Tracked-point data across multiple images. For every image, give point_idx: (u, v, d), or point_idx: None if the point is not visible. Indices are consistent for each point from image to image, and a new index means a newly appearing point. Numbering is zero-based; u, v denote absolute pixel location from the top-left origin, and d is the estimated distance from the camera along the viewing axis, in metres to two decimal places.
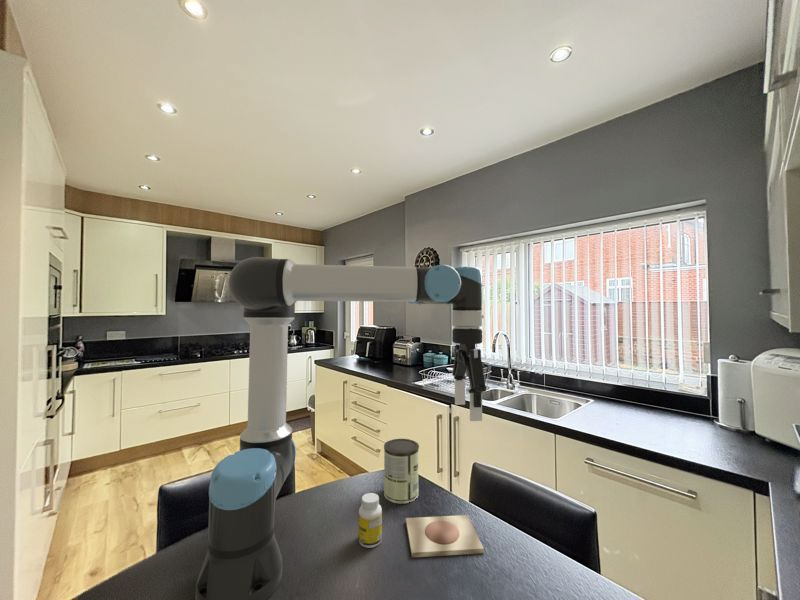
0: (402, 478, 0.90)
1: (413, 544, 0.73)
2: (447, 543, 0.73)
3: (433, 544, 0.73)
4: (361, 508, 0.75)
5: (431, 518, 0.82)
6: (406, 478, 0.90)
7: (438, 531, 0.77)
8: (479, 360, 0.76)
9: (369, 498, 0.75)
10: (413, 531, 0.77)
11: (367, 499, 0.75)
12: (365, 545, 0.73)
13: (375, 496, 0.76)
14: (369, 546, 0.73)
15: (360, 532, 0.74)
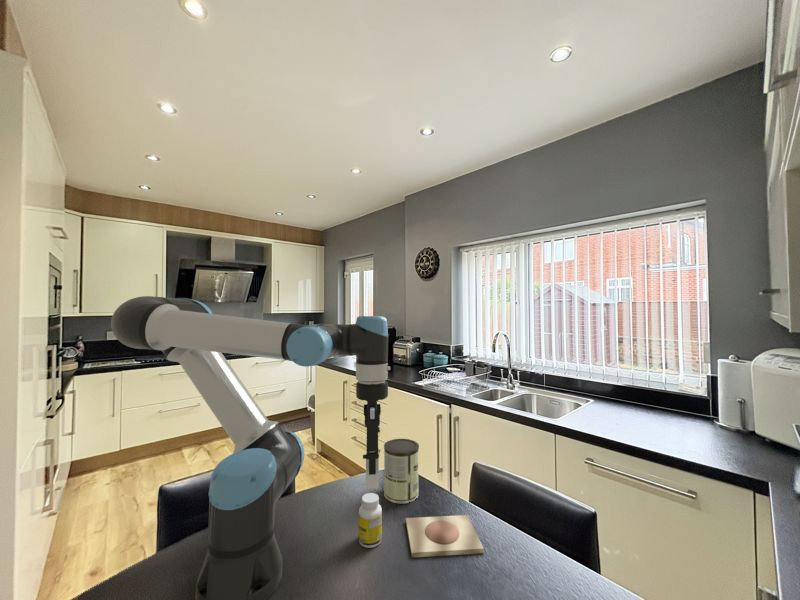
0: (402, 478, 0.90)
1: (413, 544, 0.73)
2: (447, 543, 0.73)
3: (433, 544, 0.73)
4: (361, 508, 0.75)
5: (431, 518, 0.82)
6: (406, 478, 0.90)
7: (438, 531, 0.77)
8: (375, 422, 0.69)
9: (369, 498, 0.75)
10: (413, 531, 0.77)
11: (367, 499, 0.75)
12: (365, 545, 0.73)
13: (375, 496, 0.76)
14: (369, 546, 0.73)
15: (360, 532, 0.74)
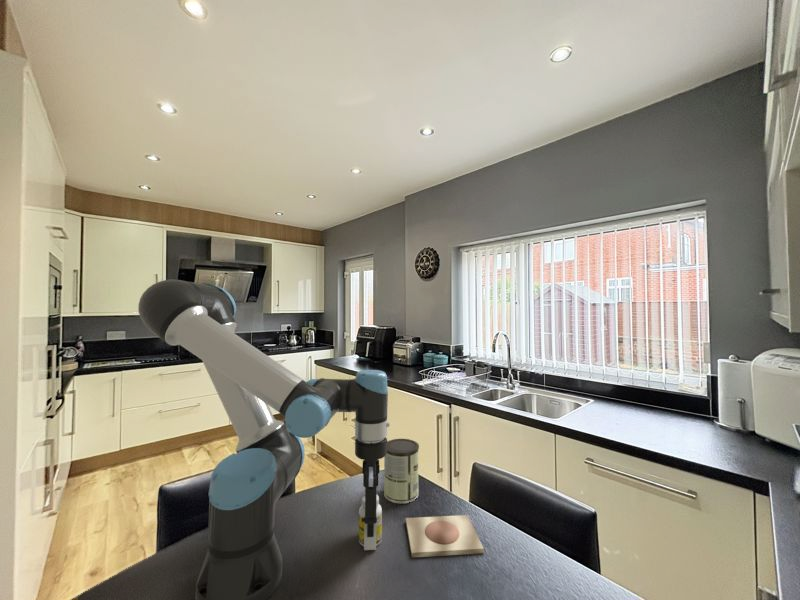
0: (402, 478, 0.90)
1: (413, 544, 0.73)
2: (447, 543, 0.73)
3: (433, 544, 0.73)
4: (361, 508, 0.75)
5: (431, 518, 0.82)
6: (406, 478, 0.90)
7: (438, 531, 0.77)
8: (374, 490, 0.70)
9: None
10: (413, 531, 0.77)
11: None
12: None
13: None
14: None
15: (360, 532, 0.74)
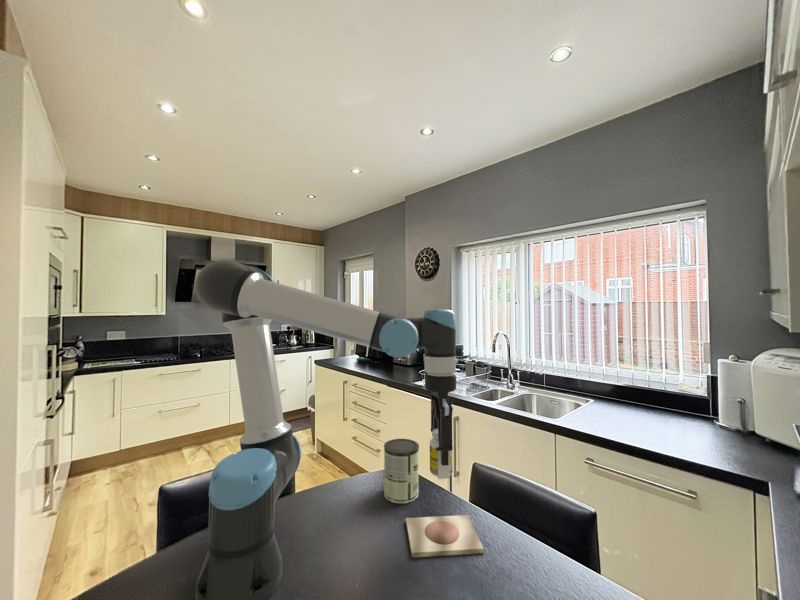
0: (402, 478, 0.90)
1: (413, 544, 0.73)
2: (447, 543, 0.73)
3: (433, 544, 0.73)
4: (432, 441, 0.77)
5: (431, 518, 0.82)
6: (406, 478, 0.90)
7: (438, 531, 0.77)
8: (449, 418, 0.72)
9: None
10: (413, 531, 0.77)
11: None
12: None
13: None
14: None
15: (433, 463, 0.76)
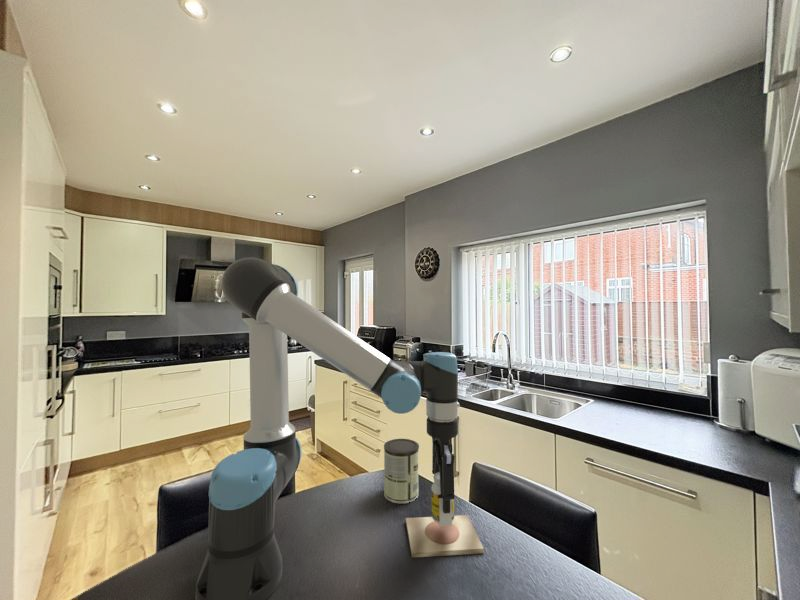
0: (402, 478, 0.90)
1: (413, 544, 0.73)
2: (447, 543, 0.73)
3: (433, 544, 0.73)
4: (434, 486, 0.77)
5: (431, 518, 0.82)
6: (406, 478, 0.90)
7: (438, 531, 0.77)
8: (451, 467, 0.72)
9: None
10: (413, 531, 0.77)
11: None
12: None
13: None
14: None
15: (434, 509, 0.75)
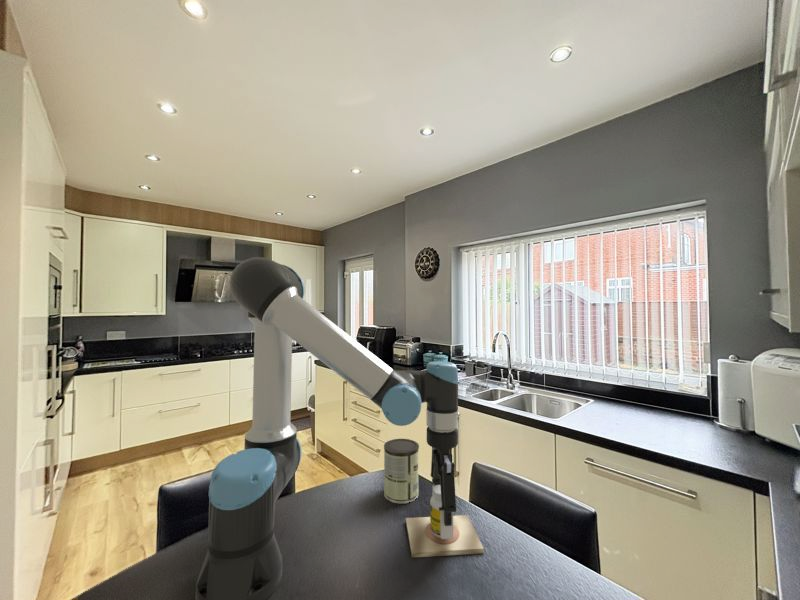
0: (402, 478, 0.90)
1: (413, 544, 0.73)
2: (447, 543, 0.73)
3: (433, 544, 0.73)
4: (433, 500, 0.76)
5: None
6: (406, 478, 0.90)
7: None
8: (452, 476, 0.71)
9: (440, 490, 0.77)
10: (413, 531, 0.77)
11: (439, 491, 0.76)
12: (439, 535, 0.74)
13: None
14: None
15: (433, 523, 0.75)
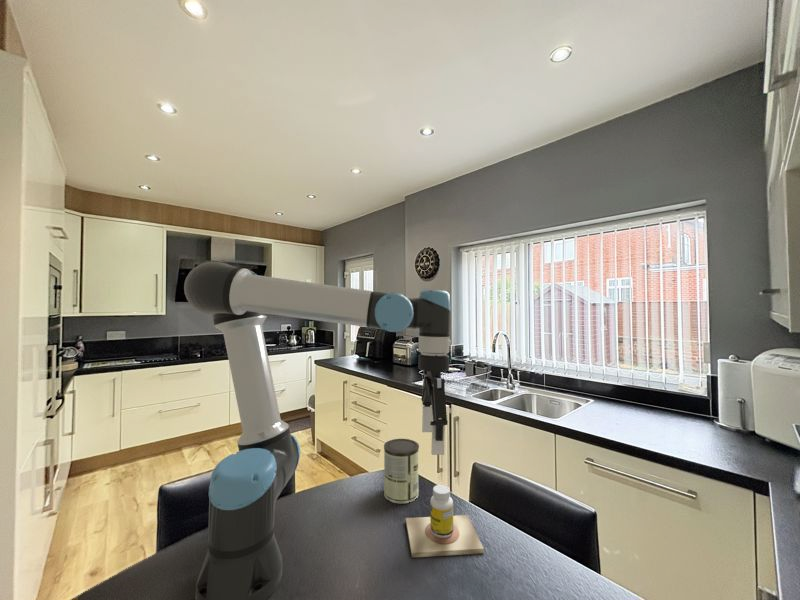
0: (402, 478, 0.90)
1: (413, 544, 0.73)
2: (447, 543, 0.73)
3: (433, 544, 0.73)
4: (433, 499, 0.77)
5: None
6: (406, 478, 0.90)
7: None
8: (442, 390, 0.72)
9: (440, 489, 0.77)
10: (413, 531, 0.77)
11: (439, 490, 0.77)
12: (439, 535, 0.74)
13: (446, 488, 0.78)
14: (443, 536, 0.74)
15: (433, 523, 0.75)
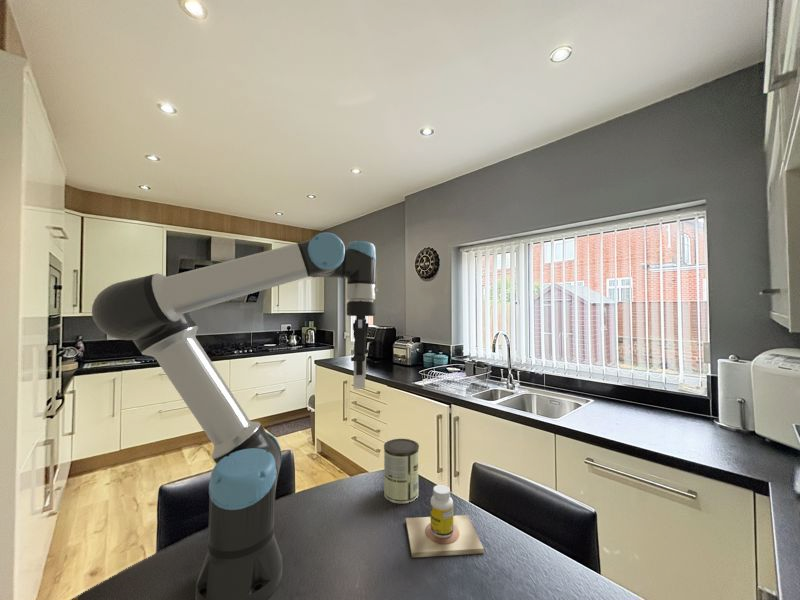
0: (402, 478, 0.90)
1: (413, 544, 0.73)
2: (447, 543, 0.73)
3: (433, 544, 0.73)
4: (433, 499, 0.77)
5: None
6: (406, 478, 0.90)
7: None
8: (363, 330, 0.78)
9: (441, 489, 0.77)
10: (413, 531, 0.77)
11: (439, 490, 0.77)
12: (439, 535, 0.74)
13: (446, 488, 0.78)
14: (443, 536, 0.74)
15: (433, 522, 0.75)
